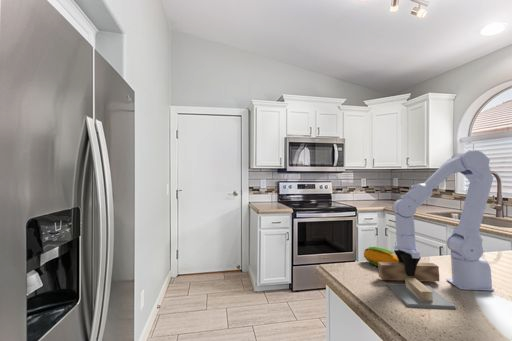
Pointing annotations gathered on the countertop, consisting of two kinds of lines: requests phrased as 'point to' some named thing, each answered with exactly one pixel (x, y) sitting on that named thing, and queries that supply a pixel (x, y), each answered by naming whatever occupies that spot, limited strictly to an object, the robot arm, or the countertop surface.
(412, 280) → the ridge
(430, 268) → the brown wooden block
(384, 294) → the countertop surface
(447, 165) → the robot arm
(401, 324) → the countertop surface
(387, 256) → the corn
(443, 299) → the board
